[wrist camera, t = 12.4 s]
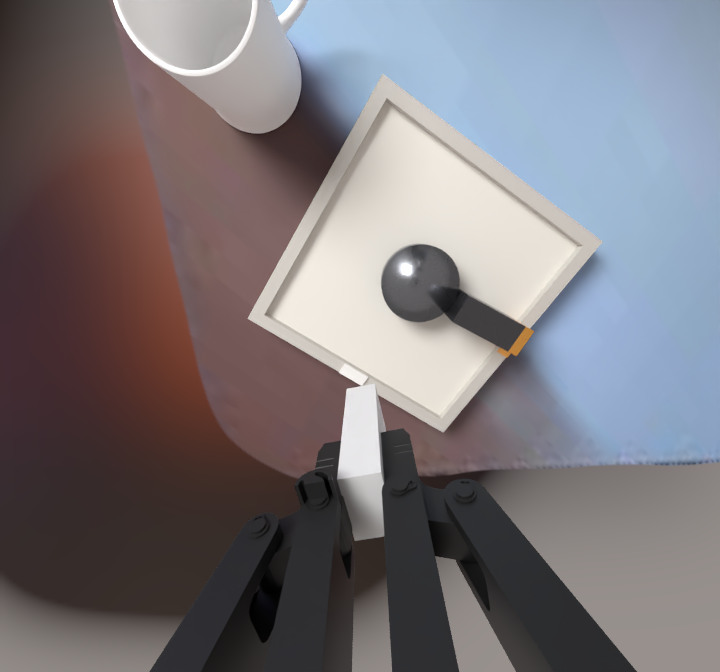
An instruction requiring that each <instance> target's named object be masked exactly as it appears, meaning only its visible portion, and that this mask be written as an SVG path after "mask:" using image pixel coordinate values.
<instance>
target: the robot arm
mask: <svg viewBox="0 0 720 672" xmlns="http://www.w3.org/2000/svg"><path fill="white" fill-rule="evenodd" d="M315 468H316V469H315V470H313V471H310V472H307V473H306V474H304V475H302V476H301V477H300V478H299V479H298V480H297V482H296V484H295V486H294V487H295V490H296V492H297V495H298V498H299V501H300V504H301V507H300V509H299V510H298V511H297V512H295V513H293V514H291V515H289V516H287V517H284V518H282V519H278V517H277V516H276V515H275V514H272V513H262V514H259V515H257V516H255V517H253V518H252V519H251V520H249V521H248V522H247V523H246V524H245V525H244V527H243V528H242V529H241V531H240V532H239V534H238V535H237V537H236V538H235V540H234V541H233V543H232V545H231V546H230V548H229V549H228V551H227V552H226V554H225V555H224V557H223V559H222V560H221V562H220V563H219V565H218V567H217V568H216V570H215V571H214V573H213V574H212V576H211V577H210V579H209V580H208V582H207V583H206V585H205V586H204V588H203V590H202V591H201V593H200V594H199V596H198V597H197V599H196V600H195V602H194V604H193V605H192V607H191V608H190V610H189V612H188V613H187V615H186V616H185V618H184V619H183V621H182V622H181V624H180V625H179V627H178V628H177V630H176V632H175V633H174V635H173V636H172V638H171V639H170V641H169V642H168V644H167V645H166V647H165V649H164V651H163V652H162V653H161V655H160V656H159V658H158V659H157V661H156V663H155V664H154V666H153V667H152V669H151V670H150V672H352V640H353V603H354V567H355V554H354V548H353V545H352V532H353V535H354V539H355V541H357V540H363V539H369V538H376V537H382V536H384V539H385V556H386V571H387V572H386V573H387V588H388V605H389V622H390V639H391V654H392V655H391V656H392V672H459V669H458V664H457V660H456V655H455V650H454V645H453V640H452V635H451V631H450V626H449V621H448V617H447V612H446V607H445V602H444V597H443V592H442V587H441V583H440V578H439V573H438V568H437V563H436V559H435V556H439V557H444V558H450V559H455V560H456V562H457V564H458V566H459V568H460V570H461V572H462V574H463V575H464V577H465V579H466V581H467V583H468V585H469V586H470V588H471V590H472V592H473V594H474V595H475V597H476V599H477V601H478V603H479V605H480V606H481V608H482V610H483V612H484V613H485V616H486V617H487V619H488V621H489V623H490V625H491V627H492V628H493V630H494V632H495V634H496V636H497V638H498V639H499V641H500V643H501V645H502V647H503V649H504V650H505V652H506V654H507V656H508V658H509V660H510V661H511V663H512V665H513V667H514V668H515V670H516V672H637V671H636V670H635V669H634V668H633V667H632V665H631V664H630V663H629V662H628V661H627V659H626V658H625V657H624V656H623V654H622V653H621V652H620V651H619V650H618V648H617V647H616V646H615V645H614V644H613V643H612V641H611V640H610V639H609V638H608V636H607V635H606V634H605V633H604V632H603V630H602V629H601V628H600V627H599V626H598V624H597V623H596V622H595V621H594V620H593V618H592V617H591V616H590V615H589V613H588V612H587V611H586V610H585V609H584V608H583V606H582V605H581V604H580V603H579V602H578V600H577V599H576V598H575V597H574V596H573V594H572V593H571V592H570V591H569V589H568V588H567V587H566V586H565V584H564V583H563V582H562V581H561V580H560V578H559V577H558V576H557V575H556V574H555V573H554V571H553V570H552V569H551V568H550V566H549V565H548V564H547V563H546V562H545V560H544V559H543V558H542V557H541V556H540V554H539V553H538V552H537V551H536V549H535V548H534V547H533V546H532V545H531V543H530V542H529V541H528V540H527V539H526V537H525V536H524V535H523V534H522V533H521V531H520V530H519V529H518V528H517V527H516V525H515V524H514V523H513V522H512V521H511V519H510V518H509V517H508V516H507V514H506V513H505V512H504V511H503V510H502V508H501V507H500V506H499V505H498V504H497V503H496V501H495V500H494V499H493V498H492V496H491V495H490V494H489V493H488V492H487V491H486V489H485V488H484V487H483V486H482V485H481V484H479V483H478V482H476V481H473V480H471V479H459V480H454V481H453V482H451V483H449V484H448V485H447V487H446V488H445V489H444V490H443V489H435V488H431V487H429V486H426V485H425V484H424V483H422V481H421V480H420V479H419V477H418V473H417V468H416V464H415V459H414V454H413V450H412V445H411V440H410V435H409V434H408V433H407V432H406V431H405V430H404V429H398V430H392V431H387V432H386V428H385V424H384V420H383V415H382V411H381V407H380V402H379V398H378V393H377V389H376V385H375V384H370V385H365V386H360V387H355V388H349V389H347V392H346V401H345V411H344V420H343V429H342V438H341V441H336V442H331V443H325V444H324V445H323V447H322V448H321V449H320V451H319V452H318V457H317V462H316V467H315Z"/></svg>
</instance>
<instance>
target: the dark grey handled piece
mask: <svg viewBox="0 0 720 672" xmlns="http://www.w3.org/2000/svg"><path fill="white" fill-rule="evenodd" d="M459 285H460V278H459V272H458V269H457V266H456V264H455V263H454V261H453V259H452V258H451V257H450V256H449V255H448V254H447V253H446V252H444V251H443V250H441V249H439V248H437V247H434V246H431V245H428V244H411V245H407V246H405V247H402V248H401V249H399V250H397V251H396V252H395V253H394V254H393V255H391V257H390V258H389V259H388V260H387V262H386V264H385V266H384V268H383V271H382V274H381V290H382V294H383V297H384V300H385V302H386V304H387V306H388V307H389V308H390V310H391V311H392V312H393V313H394V314H396V315H397V316H399V317H400V318H402V319H404V320H407V321H411V322H426V321H430V320H433V319H435V318H437V317H439V316H441V315H442V314H444V313H445V315H446V316H447V317H448V318H449V319H450V320H451V321H452V322H453V323H455V324H457V325H459V326H461V327H462V328H464V329H466V330H468V331H470V332H472V333H474V334H476V335H478V336H479V337H481V338H483V339H485V340H487V341H489V342H491V343H493V344H494V345H496V346H498V347H500V348H502V349H504V350H506V351H508V352H509V353H511V354H513V355H515V356H517V355H518V353H519V352H520V351H521V349H522V348H523V347H524V345H525V344H526V342H527V341H528V340H529V338H530V337H531V335H532V334H533V333H534V331H533V330H531V329H530V328H528V327H527V326H525V325H523V324H522V323H520V322H519V321H517V320H515V319H514V318H512V317H510V316H509V315H507V314H505V313H503V312H501V311H499V310H498V309H496V308H494V307H492V306H490V305H489V304H487V303H485V302H483V301H481V300H479V299H478V298H476V297H474V296H472V295H470V294H469V293H467V292H465V291H463V290H461V289H459Z"/></svg>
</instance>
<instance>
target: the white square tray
mask: <svg viewBox="0 0 720 672" xmlns="http://www.w3.org/2000/svg"><path fill="white" fill-rule="evenodd" d="M601 243H602V241H601V240H600V239H598V238H597V237H596V236H594V235H593V234H592V233H591V232H589V231H588V230H587V229H585V228H584V227H583V226H581V225H580V224H579V223H577V222H576V221H575V220H574V219H572V218H571V217H570V216H568V215H567V214H566V213H564V212H563V211H562V210H560V209H559V208H558V207H556V206H555V205H554V204H553V203H551V202H550V201H549V200H547V199H546V198H545V197H543V196H542V195H541V194H539V193H538V192H537V191H536V190H534V189H533V188H532V187H530V186H529V185H528V184H526V183H525V182H524V181H522V180H521V179H520V178H518V177H517V176H516V175H515V174H513V173H512V172H511V171H509V170H508V169H507V168H505V167H504V166H503V165H501V164H500V163H499V162H497V161H496V160H495V159H494V158H492V157H491V156H490V155H488V154H487V153H486V152H484V151H483V150H482V149H480V148H479V147H478V146H477V145H475V144H474V143H473V142H471V141H470V140H469V139H467V138H466V137H465V136H463V135H462V134H461V133H459V132H458V131H457V130H456V129H454V128H453V127H452V126H450V125H449V124H448V123H446V122H445V121H444V120H442V119H441V118H440V117H439V116H437V115H436V114H435V113H433V112H432V111H431V110H429V109H428V108H427V107H425V106H424V105H423V104H421V103H420V102H419V101H418V100H416V99H415V98H414V97H412V96H411V95H410V94H408V93H407V92H406V91H404V90H403V89H402V88H401V87H399V86H398V85H397V84H395V83H394V82H393V81H391V80H390V79H389V78H387V77H386V76H385V75H383V74H382V76H381V78H380V79H379V81H378V83H377V85H376V87H375V88H374V90H373V92H372V94H371V96H370V98H369V99H368V101H367V103H366V105H365V107H364V108H363V110H362V112H361V114H360V116H359V118H358V119H357V121H356V123H355V125H354V127H353V128H352V130H351V132H350V134H349V136H348V137H347V139H346V141H345V143H344V145H343V147H342V148H341V150H340V152H339V154H338V156H337V157H336V159H335V161H334V163H333V165H332V167H331V168H330V170H329V172H328V174H327V176H326V177H325V179H324V181H323V183H322V185H321V186H320V188H319V190H318V192H317V194H316V196H315V197H314V199H313V201H312V203H311V205H310V206H309V208H308V210H307V212H306V214H305V216H304V217H303V219H302V221H301V223H300V225H299V226H298V228H297V230H296V232H295V234H294V235H293V237H292V239H291V241H290V243H289V245H288V246H287V248H286V250H285V252H284V254H283V255H282V257H281V259H280V261H279V263H278V265H277V266H276V268H275V270H274V272H273V274H272V275H271V277H270V279H269V281H268V283H267V284H266V286H265V288H264V290H263V292H262V294H261V295H260V297H259V299H258V301H257V303H256V304H255V306H254V308H253V310H252V312H251V314H250V315H249V317H248V319H249V320H251V321H253V322H254V323H256V324H258V325H259V326H261V327H263V328H265V329H266V330H268V331H270V332H271V333H273V334H275V335H277V336H278V337H280V338H282V339H283V340H285V341H287V342H289V343H290V344H292V345H294V346H295V347H297V348H299V349H301V350H302V351H304V352H306V353H307V354H309V355H311V356H313V357H314V358H316V359H318V360H319V361H321V362H323V363H325V364H326V365H328V366H330V367H331V368H333V369H335V370H337V371H338V372H339V373H340V374H342V375H344V376H345V377H347V378H349V379H351V380H352V381H354V382H356V383H357V384H359V385H361V386H365V385H370V384H375V385H376V389H377V393H378V395H380V396H381V397H383V398H385V399H386V400H388V401H390V402H392V403H393V404H395V405H397V406H398V407H400V408H402V409H404V410H405V411H407V412H409V413H410V414H412V415H414V416H416V417H417V418H419V419H421V420H422V421H424V422H426V423H428V424H429V425H431V426H433V427H434V428H436V429H438V430H440V431H441V432H444V431H445V430H446V429H447V427H448V426H449V425H450V424H451V423H452V421H453V420H454V419H455V418H456V417H457V415H458V414H459V413H460V412H461V411H462V410H463V408H464V407H465V406H466V405H467V404H468V402H469V401H470V400H471V399H472V398H473V396H474V395H475V394H476V393H477V392H478V390H479V389H480V388H481V387H482V386H483V384H484V383H485V382H486V381H487V380H488V378H489V377H490V376H491V375H492V374H493V372H494V371H495V370H496V369H497V368H498V366H499V365H500V364H501V363H502V362H503V360H504V359H505V358H507V357H508V356H509V355H510V354H511V353H509V352H508V351H506V350H504V349H502V348H500V347H498V346H496V345H494V344H493V343H491V342H489V341H487V340H485V339H483V338H481V337H479V336H478V335H476V334H474V333H472V332H470V331H468V330H466V329H464V328H462V327H461V326H459V325H457V324H455V323H453V322H452V321H451V320H450V319H449V318H448V317H447V316H446V315H445V313H444V314H442V315H441V316H439V317H437V318H435V319H433V320H430V321H426V322H411V321H407V320H404V319H402V318H400V317H399V316H397V315H396V314H394V313H393V312H392V311H391V310H390V308H389V307H388V306H387V304H386V302H385V300H384V297H383V294H382V290H381V274H382V271H383V268H384V266H385V264H386V262H387V260H388V259H389V258H390V257H391V255H393V254H394V253H395V252H396V251H397V250H399V249H401V248H402V247H405V246H407V245H411V244H428V245H431V246H434V247H437V248H439V249H441V250H443V251H444V252H446V253H447V254H448V255H449V256H450V257H451V258H452V259H453V261H454V263H455V264H456V266H457V269H458V272H459V278H460V285H459V289H461V290H463V291H465V292H467V293H469V294H470V295H472V296H474V297H476V298H478V299H479V300H481V301H483V302H485V303H487V304H489V305H490V306H492V307H494V308H496V309H498V310H499V311H501V312H503V313H505V314H507V315H509V316H510V317H512V318H514V319H515V320H517V321H519V322H520V323H522V324H523V325H525V326H527V327H528V328H531V327H532V326H533V325H534V323H535V322H536V321H537V320H538V319H539V317H540V316H541V315H542V314H543V313H544V311H545V310H546V309H547V308H548V307H549V305H550V304H551V303H552V302H553V301H554V299H555V298H556V297H557V296H558V295H559V293H560V292H561V291H562V290H563V289H564V288H565V286H566V285H567V284H568V283H569V282H570V280H571V279H572V278H573V277H574V276H575V274H576V273H577V272H578V271H579V270H580V268H581V267H582V266H583V265H584V264H585V262H586V261H587V260H588V259H589V258H590V256H591V255H592V254H593V253H594V252H595V250H596V249H597V248H598V247H599V246H600V244H601Z"/></svg>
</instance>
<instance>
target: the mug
mask: <svg viewBox="0 0 720 672" xmlns="http://www.w3.org/2000/svg"><path fill="white" fill-rule="evenodd" d="M113 1H114V5H115V8H116V11H117V13H118V16H119V18H120V20H121V22H122V24H123V26H124V28H125V30H126V31H127V33H128V35H129V36H130V38H131V39H132V40H133V42H134V43H135V44H136V46H137V47H138V48H139V49H140V50H141V51H142V52H143V53H144V54H145V55H146V56H147V57H148V58H149V59H150V60H151V61H153V62H154V63H155V64H157V65H158V66H159V67H160V68H162V69H163V70H164V71H166V72H167V73H168V74H170V75H171V76H172V77H173V78H175V79H176V80H177V81H179V82H180V83H181V84H183V85H184V86H185V87H186V88H188V89H189V90H190V91H192V92H193V93H194V94H196V95H197V96H198V97H199V98H201V99H202V100H203V101H205V102H206V103H207V104H209V105H210V106H211V107H212V108H214V109H215V110H216V111H217V113H218V114H219V115H220V116H221V117H222V118H223V119H224V120H225V121H226V122H227V123H229V124H230V125H231V126H233V127H235V128H237V129H239V130H241V131H244V132H248V133H256V134H258V133H266V132H270V131H272V130H274V129H276V128H278V127H280V126H281V125H282V124H284V123H285V122H286V121H287V120H288V119H289V117H290V116H291V115H292V113H293V111H294V110H295V108H296V106H297V103H298V100H299V97H300V92H301V69H300V64H299V60H298V57H297V54H296V52H295V50H294V48H293V46H292V44H291V42H290V41H289V39H288V38H287V37H286V33H287V31H288V30H289V29H290V27H291V26H292V25H293V24H294V22H295V21H296V20H297V18H298V17H299V15H300V14H301V12H302V11H303V9H304V7H305V5H306V3H307V1H308V0H293V1H292V3H291V4H290V6H289V7H288V8H287V10H286V11H285V12H284V13H283V14H282V15H280V16H279V17H277V14H276V12H275V10H274V7H273V5H272V3H271V0H113Z"/></svg>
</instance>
